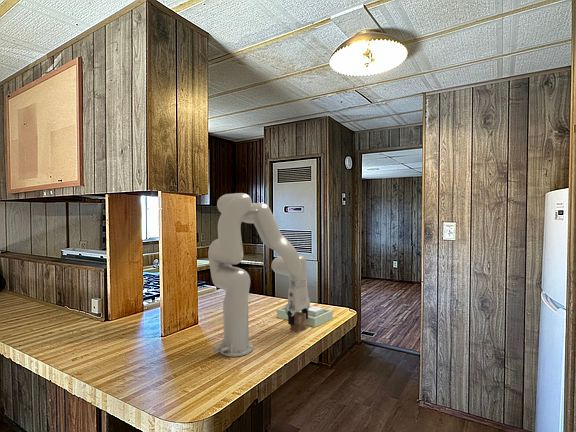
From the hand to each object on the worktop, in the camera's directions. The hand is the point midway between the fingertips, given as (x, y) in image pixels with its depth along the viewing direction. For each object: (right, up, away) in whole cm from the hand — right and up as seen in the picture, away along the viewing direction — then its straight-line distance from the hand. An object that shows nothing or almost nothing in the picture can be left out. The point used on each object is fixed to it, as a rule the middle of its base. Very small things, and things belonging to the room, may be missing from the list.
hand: (298, 321), depth 149 cm
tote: (+4, -3, +15) cm, 16 cm away
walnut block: (0, -4, 0) cm, 4 cm away
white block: (+8, -3, +11) cm, 14 cm away
